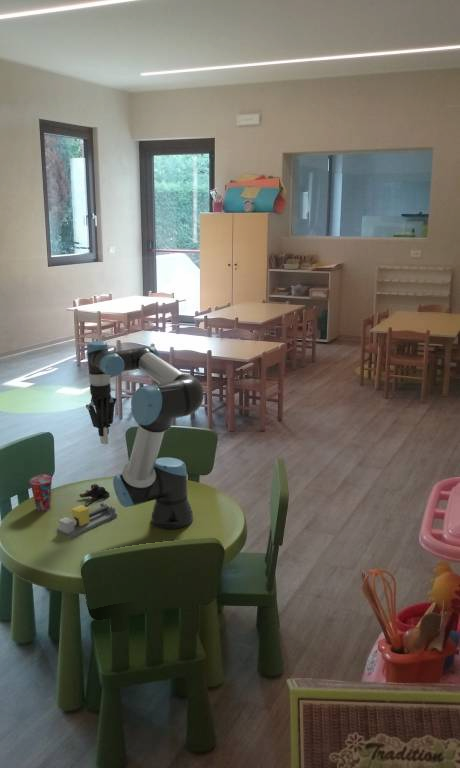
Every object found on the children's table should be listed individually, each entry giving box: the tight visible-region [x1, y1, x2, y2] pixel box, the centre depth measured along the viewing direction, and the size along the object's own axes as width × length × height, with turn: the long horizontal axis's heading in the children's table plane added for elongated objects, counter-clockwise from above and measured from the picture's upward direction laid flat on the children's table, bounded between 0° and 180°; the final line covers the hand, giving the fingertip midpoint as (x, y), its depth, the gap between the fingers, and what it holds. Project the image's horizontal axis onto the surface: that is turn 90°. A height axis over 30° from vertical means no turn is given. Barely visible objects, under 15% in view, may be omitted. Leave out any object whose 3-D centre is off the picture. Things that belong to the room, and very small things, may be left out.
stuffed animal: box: [78, 483, 110, 507], centre depth 273 cm, size 12×10×12 cm
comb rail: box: [56, 502, 118, 539], centre depth 251 cm, size 21×8×5 cm, turn 139°
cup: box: [28, 473, 53, 512], centre depth 263 cm, size 9×8×12 cm
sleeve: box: [71, 504, 90, 526], centre depth 248 cm, size 4×4×6 cm
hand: (104, 443), depth 262 cm, fingers closed
